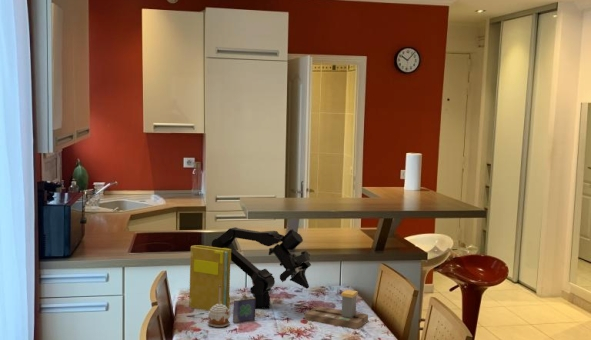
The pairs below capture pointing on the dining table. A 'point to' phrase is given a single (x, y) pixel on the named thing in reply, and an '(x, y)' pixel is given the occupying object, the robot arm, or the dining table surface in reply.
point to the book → (209, 277)
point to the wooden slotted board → (335, 317)
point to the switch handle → (349, 303)
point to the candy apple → (219, 314)
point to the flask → (244, 309)
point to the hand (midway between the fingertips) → (308, 287)
